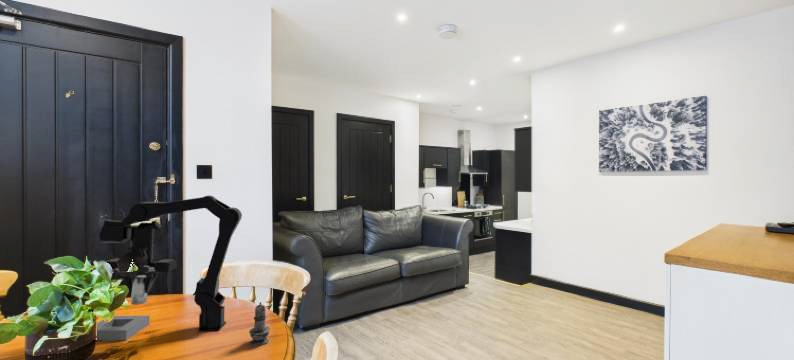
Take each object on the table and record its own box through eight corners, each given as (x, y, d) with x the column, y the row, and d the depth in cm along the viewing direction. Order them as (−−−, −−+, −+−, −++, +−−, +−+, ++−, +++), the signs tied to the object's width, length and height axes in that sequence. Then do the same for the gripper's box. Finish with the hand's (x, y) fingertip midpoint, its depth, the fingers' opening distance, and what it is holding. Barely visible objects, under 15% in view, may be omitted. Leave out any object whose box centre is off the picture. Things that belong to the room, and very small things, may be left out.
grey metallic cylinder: (149, 300, 115) (150, 275, 116) (142, 304, 112) (143, 278, 112) (136, 300, 115) (137, 275, 115) (128, 304, 111) (129, 278, 111)
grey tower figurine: (262, 336, 113) (263, 297, 113) (273, 341, 110) (274, 301, 110) (244, 342, 108) (245, 302, 108) (256, 348, 105) (257, 306, 105)
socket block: (149, 324, 120) (149, 315, 120) (126, 340, 108) (126, 330, 108) (110, 325, 119) (110, 315, 119) (82, 341, 107) (82, 330, 107)
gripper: (90, 246, 104) (87, 300, 104) (160, 247, 107) (157, 301, 106) (116, 240, 116) (113, 289, 115) (178, 241, 118) (176, 290, 117)
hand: (139, 292), depth 113 cm, fingers closed on grey metallic cylinder, 4 cm apart
